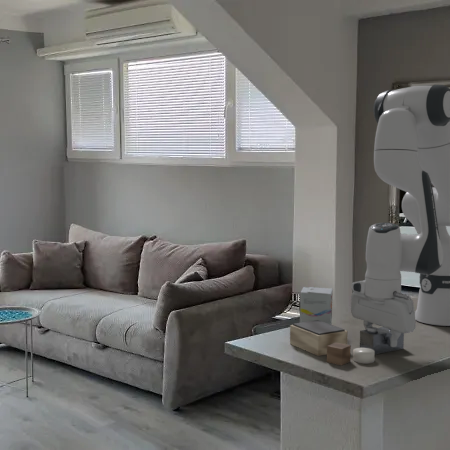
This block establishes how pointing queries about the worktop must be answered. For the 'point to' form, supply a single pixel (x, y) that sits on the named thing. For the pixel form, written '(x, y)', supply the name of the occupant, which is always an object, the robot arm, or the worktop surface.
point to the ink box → (316, 304)
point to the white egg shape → (363, 355)
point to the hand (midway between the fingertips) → (381, 342)
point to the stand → (316, 336)
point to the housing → (379, 339)
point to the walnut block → (338, 353)
